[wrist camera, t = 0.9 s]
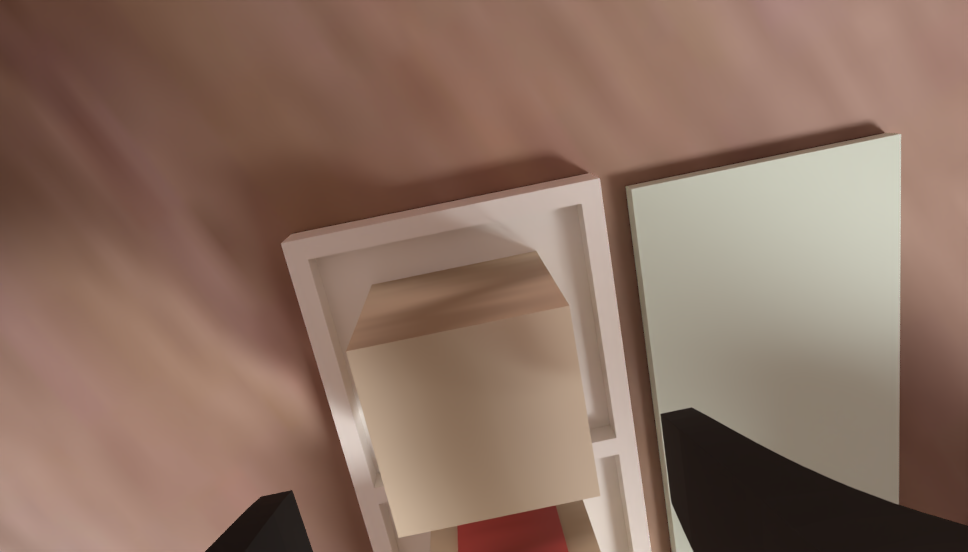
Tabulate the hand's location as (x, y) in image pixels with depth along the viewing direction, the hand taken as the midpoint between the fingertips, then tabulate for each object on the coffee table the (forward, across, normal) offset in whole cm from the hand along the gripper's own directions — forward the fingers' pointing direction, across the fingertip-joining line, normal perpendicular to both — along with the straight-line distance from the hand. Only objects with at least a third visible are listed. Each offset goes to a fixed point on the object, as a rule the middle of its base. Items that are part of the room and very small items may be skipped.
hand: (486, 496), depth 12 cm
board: (+8, -10, +3) cm, 13 cm away
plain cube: (+8, 0, 0) cm, 8 cm away
